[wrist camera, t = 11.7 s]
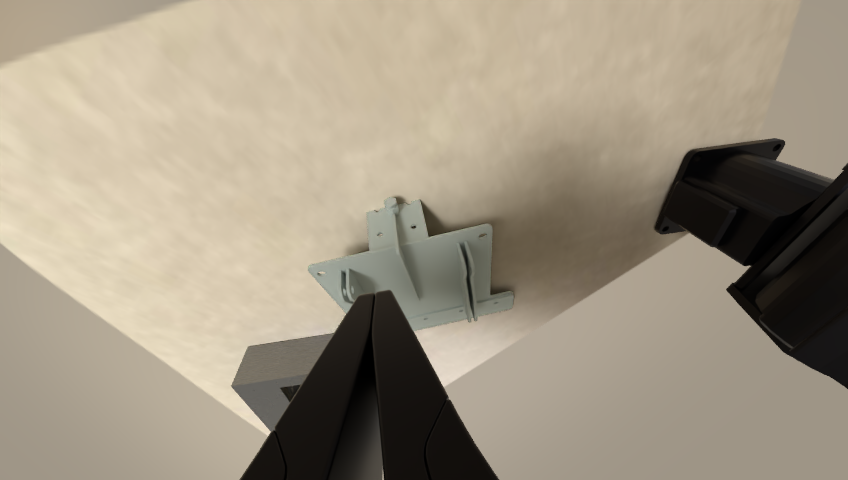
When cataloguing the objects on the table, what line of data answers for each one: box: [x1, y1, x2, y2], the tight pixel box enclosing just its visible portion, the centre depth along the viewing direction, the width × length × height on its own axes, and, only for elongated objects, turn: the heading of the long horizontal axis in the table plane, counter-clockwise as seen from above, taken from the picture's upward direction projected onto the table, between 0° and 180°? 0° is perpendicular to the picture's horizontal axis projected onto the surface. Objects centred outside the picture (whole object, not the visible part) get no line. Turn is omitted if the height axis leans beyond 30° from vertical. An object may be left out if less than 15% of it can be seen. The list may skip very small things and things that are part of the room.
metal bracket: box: [308, 197, 514, 331], centre depth 23 cm, size 14×6×15 cm
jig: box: [231, 334, 333, 431], centre depth 27 cm, size 10×8×4 cm
